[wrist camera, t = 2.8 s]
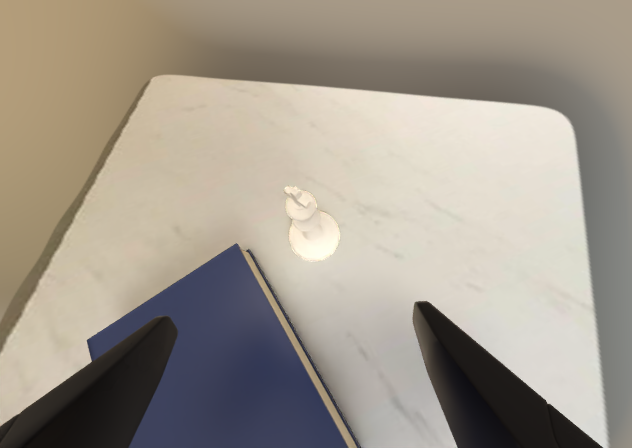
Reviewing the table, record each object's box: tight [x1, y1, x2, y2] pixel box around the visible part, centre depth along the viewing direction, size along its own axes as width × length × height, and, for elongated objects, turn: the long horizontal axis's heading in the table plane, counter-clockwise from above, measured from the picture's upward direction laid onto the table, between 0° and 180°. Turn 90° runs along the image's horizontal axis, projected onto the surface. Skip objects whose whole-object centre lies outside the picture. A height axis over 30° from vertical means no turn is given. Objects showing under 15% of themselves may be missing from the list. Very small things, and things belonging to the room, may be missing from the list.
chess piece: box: [283, 185, 340, 261], centre depth 17 cm, size 5×5×10 cm
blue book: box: [87, 243, 361, 448], centre depth 17 cm, size 19×14×3 cm
